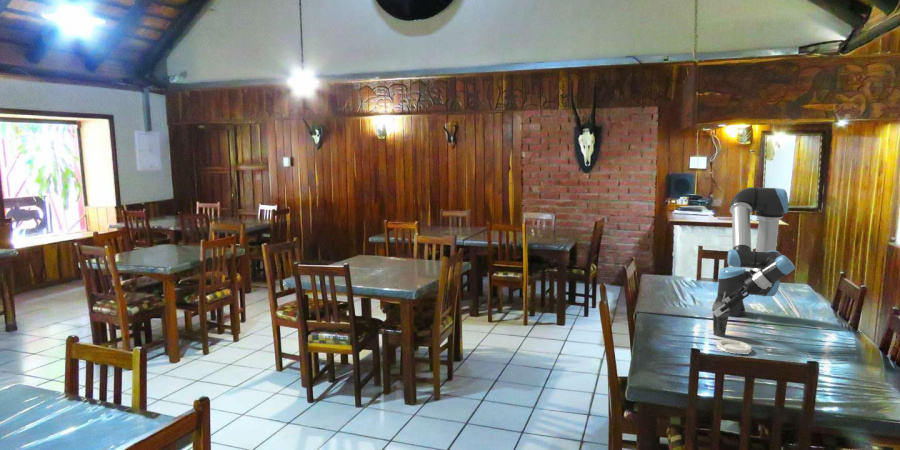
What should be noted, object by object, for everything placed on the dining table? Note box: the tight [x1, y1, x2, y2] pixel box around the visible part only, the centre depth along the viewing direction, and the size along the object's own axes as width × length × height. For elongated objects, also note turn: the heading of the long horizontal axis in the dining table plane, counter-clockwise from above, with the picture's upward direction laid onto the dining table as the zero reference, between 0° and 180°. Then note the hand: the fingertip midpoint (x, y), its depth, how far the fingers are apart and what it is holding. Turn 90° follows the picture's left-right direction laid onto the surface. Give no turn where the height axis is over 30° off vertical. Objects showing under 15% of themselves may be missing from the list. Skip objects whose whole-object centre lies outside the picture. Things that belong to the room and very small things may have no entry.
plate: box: [716, 339, 753, 353], centre depth 232 cm, size 13×13×2 cm
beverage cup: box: [711, 292, 730, 338], centre depth 248 cm, size 7×7×20 cm
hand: (716, 310), depth 249 cm, fingers open, 13 cm apart
